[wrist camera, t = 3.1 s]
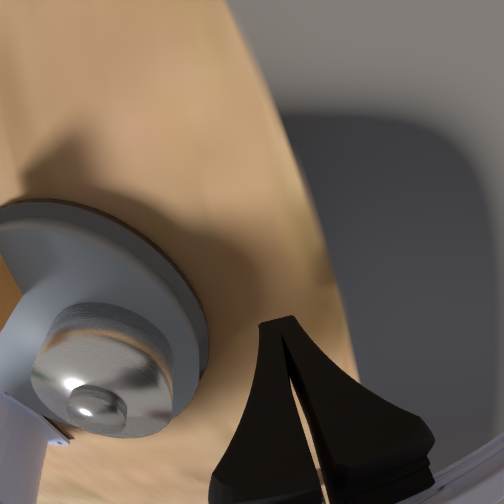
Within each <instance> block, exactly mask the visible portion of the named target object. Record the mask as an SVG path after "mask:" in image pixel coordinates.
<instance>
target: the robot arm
mask: <svg viewBox="0 0 504 504" xmlns="http://www.w3.org/2000/svg"><path fill="white" fill-rule="evenodd" d="M258 327H259V349H258V357H257V364H256V370H255V374H254V379H253V383H252V387H251V391H250V395H249V398H248V401H247V404H246V407H245V410H244V413H243V415H242V418H241V420H240V423H239V425H238V428H237V430H236V432H235V434H234V436H233V438H232V440H231V442H230V444H229V446H228V448H227V450H226V452H225V454H224V455H223V457H222V459H221V460H220V462H219V463H218V465H217V467H216V468H215V470H214V471H213V473H212V476H211V481H210V486H209V494H208V502H209V504H322V491H321V485H320V481H319V478H318V474H317V471H316V468H315V465H314V462H313V459H312V456H311V452H310V449H309V446H308V443H307V440H306V437H305V433H304V430H303V427H302V424H301V421H300V417H299V414H298V411H297V407H296V404H295V401H294V397H293V394H292V389H291V383H290V379H291V382H292V384H293V387H294V389H295V392H296V394H297V397H298V399H299V402H300V404H301V407H302V410H303V412H304V415H305V417H306V420H307V423H308V425H309V428H310V432H311V435H312V439H313V443H314V446H315V450H316V454H317V457H318V461H319V465H320V468H321V472H322V476H323V480H324V483H325V487H326V491H327V495H328V499H329V503H330V504H412V503H414V502H417V501H419V500H421V499H423V498H425V497H427V496H429V495H431V494H433V493H435V492H437V491H439V492H437V493H435V494H434V495H432V496H430V497H428V498H427V499H425V500H423V501H421V502H419V503H418V504H496V503H498V502H499V501H500V500H502V499H503V498H504V432H503V433H502V434H501V435H499V436H498V437H497V438H495V439H493V440H492V441H490V442H489V443H487V444H486V445H484V446H483V447H481V448H479V449H478V450H476V451H475V452H473V453H471V454H470V455H468V456H466V457H465V458H463V459H462V460H460V461H458V462H456V463H454V464H452V465H450V466H449V467H447V468H445V469H443V470H441V471H439V472H437V473H435V474H433V475H432V473H431V471H430V469H429V467H428V466H429V465H430V462H429V459H428V458H427V454H428V453H429V451H430V450H431V448H432V446H433V445H434V442H435V438H434V436H433V434H432V432H431V430H430V429H429V428H428V426H427V425H426V423H425V422H424V421H423V420H422V419H421V418H420V417H419V416H416V415H414V414H412V413H410V412H408V411H405V410H403V409H401V408H399V407H397V406H395V405H393V404H391V403H390V402H387V401H386V400H384V399H382V398H381V397H379V396H377V395H376V394H374V393H373V392H371V391H370V390H368V389H366V388H365V387H363V386H362V385H361V384H359V383H358V382H356V381H355V380H354V379H353V378H351V377H350V376H349V375H347V374H346V373H345V372H344V371H343V370H341V369H340V368H339V367H338V366H337V365H336V364H335V363H334V362H333V361H332V360H330V359H329V358H328V357H327V356H326V355H325V354H324V353H323V352H322V351H321V349H320V348H319V347H318V346H317V345H316V344H315V343H314V342H313V341H312V340H311V338H310V337H309V336H308V335H307V333H306V332H305V331H304V330H303V328H302V327H301V326H300V324H299V323H298V321H297V320H296V318H295V316H293V315H290V316H286V317H282V318H278V319H274V320H270V321H266V322H262V323H260V324H259V325H258ZM289 376H290V377H289ZM69 444H70V441H69V439H67V438H66V437H65V436H64V435H63V434H62V433H61V432H59V431H58V430H57V429H56V428H55V427H54V426H53V425H52V424H51V423H50V422H48V421H47V420H46V419H45V418H44V417H43V416H42V415H41V414H39V413H37V412H35V411H33V410H32V409H30V408H28V407H26V406H25V405H23V404H22V403H20V402H19V401H17V400H16V399H14V398H13V397H11V396H10V395H9V394H8V393H6V392H5V391H4V390H3V389H2V388H0V504H36V503H37V496H38V490H39V484H40V479H41V473H42V468H43V463H44V459H45V454H46V449H47V445H64V446H68V445H69Z"/></svg>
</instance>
